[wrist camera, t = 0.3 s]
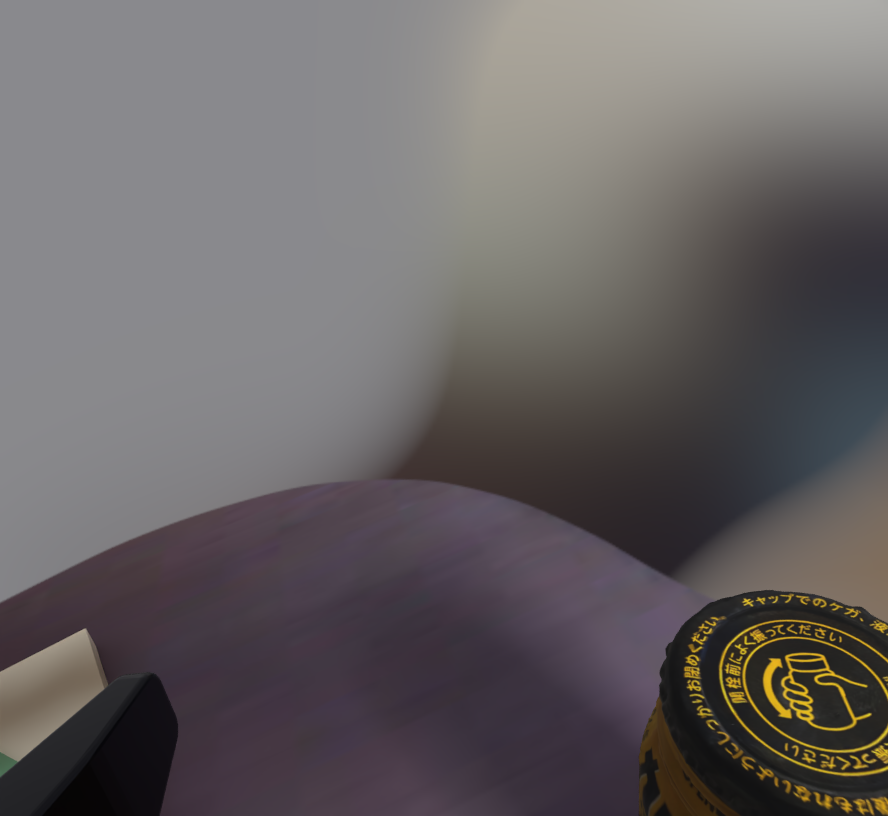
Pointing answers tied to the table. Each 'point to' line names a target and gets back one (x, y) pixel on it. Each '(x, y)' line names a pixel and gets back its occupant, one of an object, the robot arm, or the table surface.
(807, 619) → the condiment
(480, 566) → the table surface
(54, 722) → the board
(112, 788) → the robot arm
